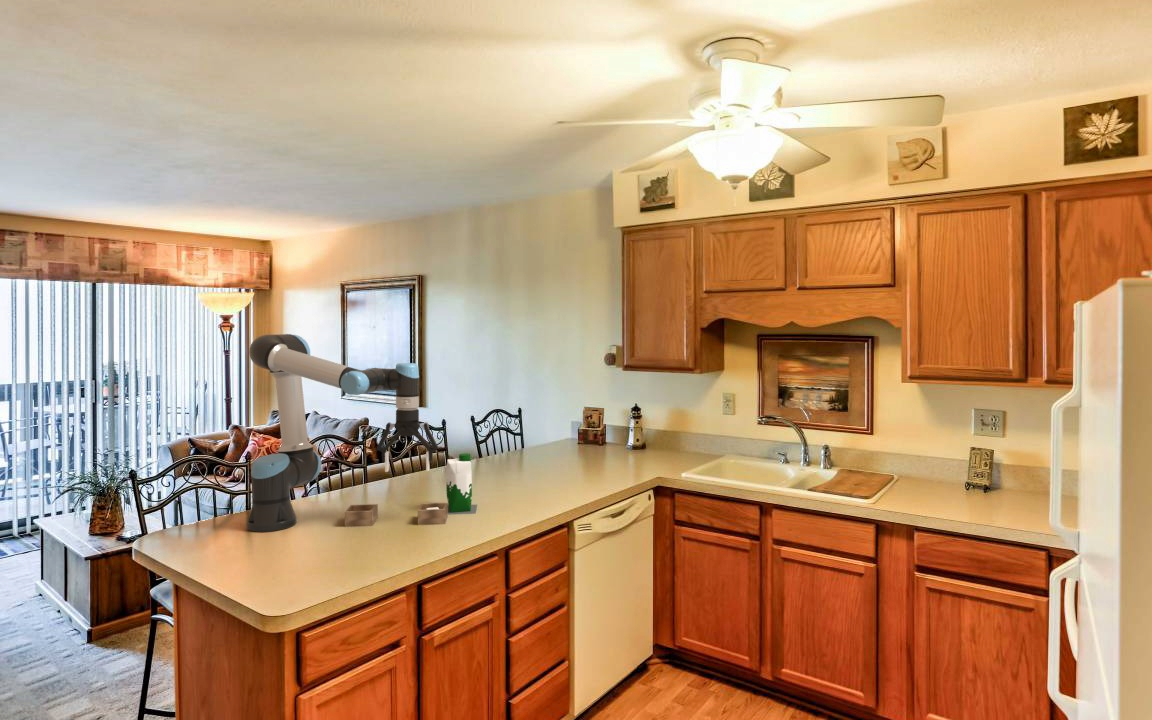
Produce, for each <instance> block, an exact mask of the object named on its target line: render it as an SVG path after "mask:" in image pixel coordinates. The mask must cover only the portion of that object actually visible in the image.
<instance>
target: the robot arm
mask: <svg viewBox="0 0 1152 720" xmlns="http://www.w3.org/2000/svg"><path fill="white" fill-rule="evenodd" d="M248 354H249V358H250V360H251V362H252V363H253V364H254V365H255V366H257V367H259V368H261V369H264V370H267V371H268V370H269V374H270V375H271V376H272V377H274V378H275V389H276V400H277V407H278V418H279V427H280V429H279V430H280V437H281V438H280V439H281V446H280V447H279V448H278V449H277V453H271V454H268V455H267V454H266V455H263V456H260V457H259V456H258V457H257V458H256V459H253V461H252V462H251V467H250V468H251V471H250V477H251V481H250V482H251V503H252V505H251V508H250V512H249V515H248V518H247V522H246V528H247V530H248V531H251V532H254V533H255V532H256V533H265V532H275V531H281V530H287V529H289V528H291V527H294V526H295V525H296V524H297V515H296V512H295V509H294V507H293V504H292V502H291V489H293V488H294V489H295V488H297V487H299V486H302V485H303V486H304V485H306V484H309V483H310V482H313V481H314V480H315V479H316V478H317V477H318V476H319V475H320V472H321V471H322V459H321V457H320V455H318V452H316V451H315V450H314V445H313V444H311V443H310V442H309V439H308V429H307V420H306V419H307V418H306V411H305V400H304V390H303V379H302V378H304V379H309V380H311V381H315V382H318V383H322V384H325V385H328V386H332V387H335V388H338V389H342V391H343V392H344V393H345V394H346V395H350V396H359V395H362V394H363V395H364V394H368V393H374V392H379V391H380V392H381V391H388V392H389V391H392V392H395V408H396V410H395V423H391V422H387V423H386V425H385V430H384V432H383V434H382V436H381V438H380V440H379V442H378V444H377V445H376V448H375V450H376V451H379V452H381V461H382V462H384V466H385V467H384V472H385V473H388V472H389V471H390V465H389V464H390V461H389V460H390V454H389V453H390V451H388V450H389V448H390V447H391V446H392V444H394V442H395V441H396V440H397V439H398V438H399V436H401V437H413V436H414V437H415V438H416V439H417V440H418V441H419V442H420V443H421V445H423V447H424V448H425V449H426V450H427V451H426V453H425V459H426V460H425V465H426V467H425V468H426V470H425V471H426V472H429V471H430V462H432V461H433V458H434V457H433V452H435V451H437V450H438V448H439V445H438V444H437V442H436V439H435V438H434V436H433V434H432V431H431V429H430V428H429V427H430V425H429V423H428V422H427V421H426V422H425V423H420V411H419V409H418V408H419V407H420V406H419V405H420V396H419V392H420V391H419V390H420V389H419V385H420V383H419V382H420V381H419V380H420V375H419V374H420V373H419V365H418V364H417V363H415V362H414V363H412V362H400V363H396V365H395V368H380V367H369V368H368V367H367V368H365V369H363V370H362V369H357V368H353V367H350V366H348V365H344V364H341V363H337V362H334V361H330V360H327V359H324V358H321V357H317V356H314V355H311V348H310V345H309V343H308V342H307V341H306V340H305V339H304V338H303V337H302V336H300V335H298V334H291V333H289V334H288V333H283V334H263V335H260V336H258V337H256V338H255V339H254V340H253V341H252V342H251V344H250V345H249V350H248ZM394 428H395V430H396V431H397V432H395V434H394V435H393V437H391V439H390V440H389V441H388V442H386V439H387V438H388V435H389V433H390V432H391V430H393V429H394ZM420 428H421V429H422V430H424V432H425V434H426V435H425V436H426V437H427V438H428V440H429V442H430V443H429V442H428V441H427V439H425V438H424V436H423V435H422V434H421V433H420V432H419V429H420ZM385 442H386V444H385V446H384V443H385ZM383 446H384V447H383Z"/></svg>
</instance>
